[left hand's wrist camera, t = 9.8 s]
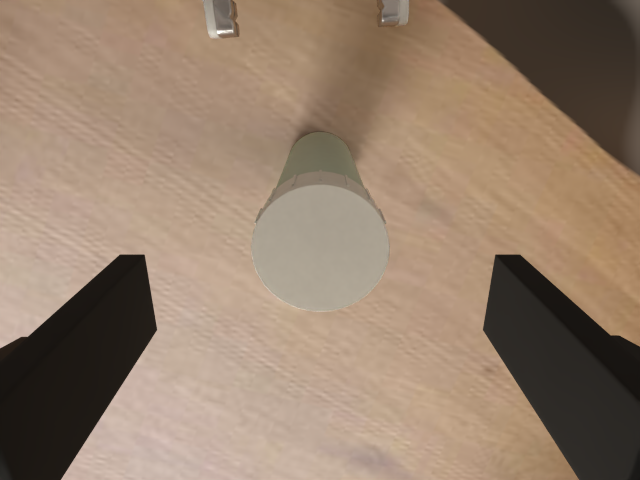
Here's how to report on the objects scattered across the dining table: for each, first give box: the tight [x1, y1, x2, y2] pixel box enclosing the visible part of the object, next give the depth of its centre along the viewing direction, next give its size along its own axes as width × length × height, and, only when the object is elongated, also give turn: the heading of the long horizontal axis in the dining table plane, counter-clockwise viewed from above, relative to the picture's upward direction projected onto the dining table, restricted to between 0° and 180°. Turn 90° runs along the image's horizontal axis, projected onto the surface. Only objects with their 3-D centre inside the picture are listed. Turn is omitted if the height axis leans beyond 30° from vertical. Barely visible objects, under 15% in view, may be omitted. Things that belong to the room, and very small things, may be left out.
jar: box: [276, 132, 365, 189], centre depth 25 cm, size 5×5×17 cm
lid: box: [251, 170, 390, 312], centre depth 18 cm, size 6×6×2 cm
